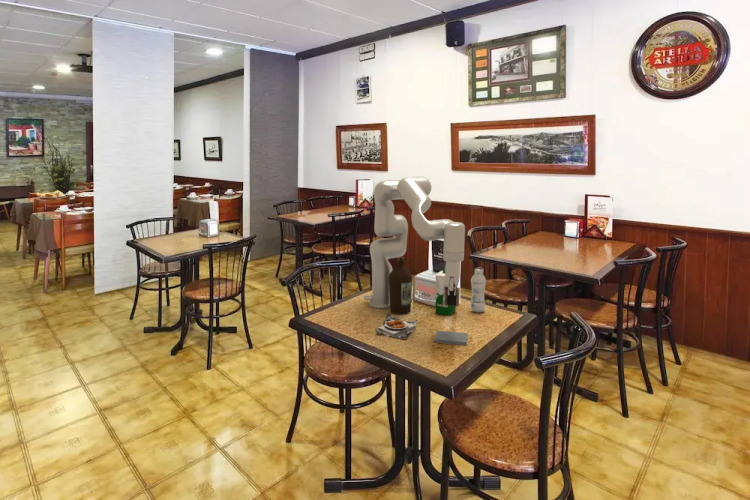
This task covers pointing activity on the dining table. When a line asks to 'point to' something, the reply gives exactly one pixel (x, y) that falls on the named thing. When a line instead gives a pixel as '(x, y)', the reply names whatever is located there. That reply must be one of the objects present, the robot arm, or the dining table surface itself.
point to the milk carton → (439, 296)
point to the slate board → (451, 337)
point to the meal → (396, 327)
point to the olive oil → (400, 288)
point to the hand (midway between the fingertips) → (452, 302)
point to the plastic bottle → (478, 291)
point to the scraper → (445, 296)
